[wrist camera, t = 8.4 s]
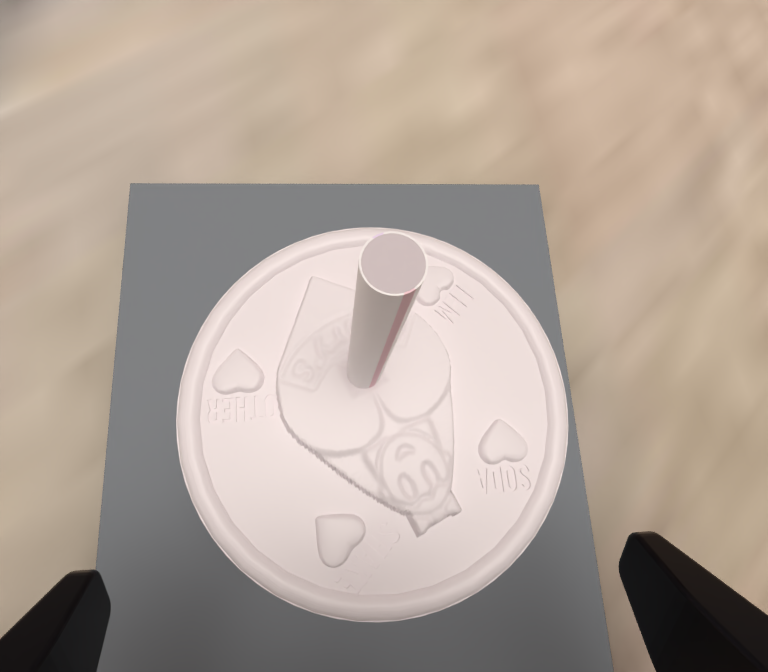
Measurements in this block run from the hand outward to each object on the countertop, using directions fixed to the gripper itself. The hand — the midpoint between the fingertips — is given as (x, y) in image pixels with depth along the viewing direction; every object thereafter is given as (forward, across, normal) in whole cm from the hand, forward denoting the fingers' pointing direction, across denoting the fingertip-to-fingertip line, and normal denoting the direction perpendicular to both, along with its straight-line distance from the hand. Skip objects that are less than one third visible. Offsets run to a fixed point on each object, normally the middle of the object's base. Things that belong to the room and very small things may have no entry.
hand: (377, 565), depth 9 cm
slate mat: (+8, 0, +4) cm, 10 cm away
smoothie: (+8, 0, +4) cm, 9 cm away
